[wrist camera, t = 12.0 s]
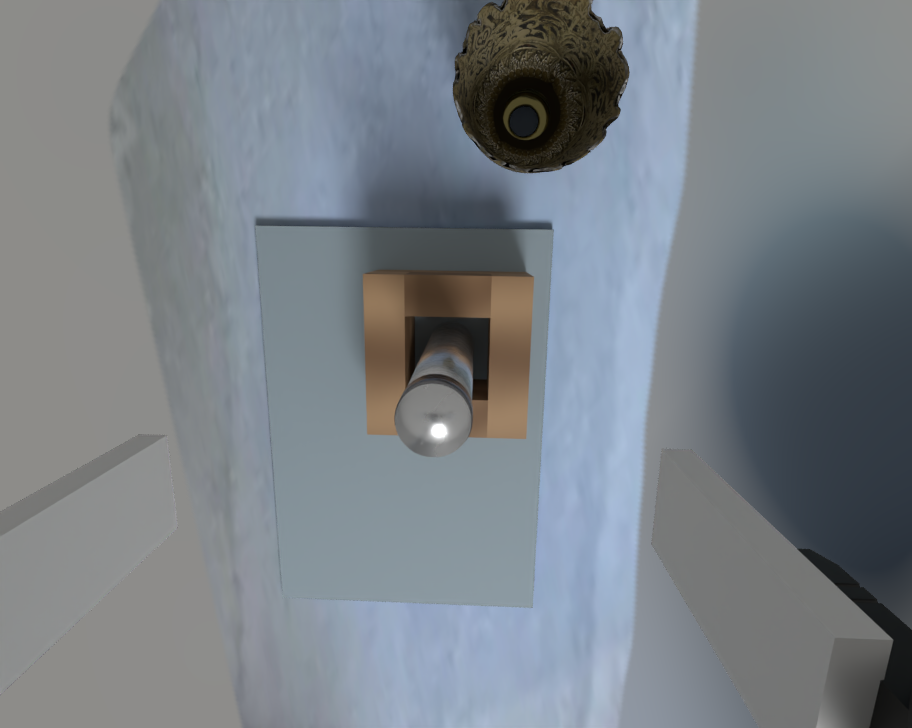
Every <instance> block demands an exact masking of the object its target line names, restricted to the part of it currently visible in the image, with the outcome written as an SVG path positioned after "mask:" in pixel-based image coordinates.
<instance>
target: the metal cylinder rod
mask: <svg viewBox="0 0 912 728" xmlns="http://www.w3.org/2000/svg"><path fill="white" fill-rule="evenodd" d="M473 354H474V340H473V337H472V334H471V332H470V331H469V330H468V329H467V328H466V327H465V326H464V325H462V324H460V323H456V322H446V323H443V324H441V325H439V326H438V327H437V328H436V329H435V330H434V331H433V332H432V334H431V336H430V339H429V341H428V343H427V345H426V347H425V349H424V351H423V354H422V356H421V358H420V360H419V362H418V364H417V366H416V369H415V371H414V373H413V375H412V377H411V379H410V382H409V384H408V386H407V387H406V389H405V390H404V392H403V394H402V396H401V398H400V400H399V402H398V404H397V407H396V410H395V416H394V421H395V427H396V431H397V434H398V436H399V438H400V439H401V441H402V442H403V443H404V445H405V446H406V447H408V448H409V449H410V450H411V451H413V452H415V453H417V454H419V455H422V456H426V457H443V456H446V455H449V454H451V453H453V452H455V451H456V450H458V449H459V448H460V447H461V446H462V445H463V444H464V443H465V441H466V440H467V439H468V437H469V435H470V432H471V429H472V423H473V405H472V385H473Z"/></svg>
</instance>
